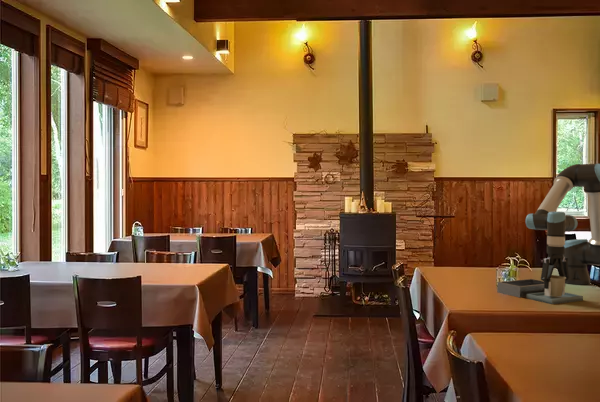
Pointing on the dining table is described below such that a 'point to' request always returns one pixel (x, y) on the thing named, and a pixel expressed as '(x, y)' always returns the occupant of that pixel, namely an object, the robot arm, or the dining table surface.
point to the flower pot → (557, 285)
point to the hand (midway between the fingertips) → (554, 294)
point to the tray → (554, 298)
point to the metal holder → (520, 287)
